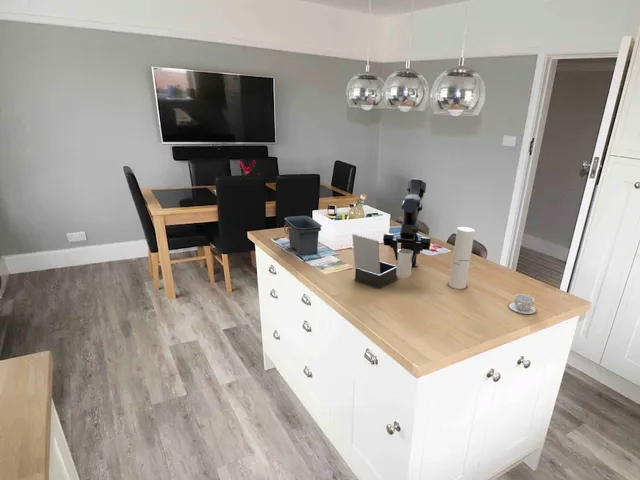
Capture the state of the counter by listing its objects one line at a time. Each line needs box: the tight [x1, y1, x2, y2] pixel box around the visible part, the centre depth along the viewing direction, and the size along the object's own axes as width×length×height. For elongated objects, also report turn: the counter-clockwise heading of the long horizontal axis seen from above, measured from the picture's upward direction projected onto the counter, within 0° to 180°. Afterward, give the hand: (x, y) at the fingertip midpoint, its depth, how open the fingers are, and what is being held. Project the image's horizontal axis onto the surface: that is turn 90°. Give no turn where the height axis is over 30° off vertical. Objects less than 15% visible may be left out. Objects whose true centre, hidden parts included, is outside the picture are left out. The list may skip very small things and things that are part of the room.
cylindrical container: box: [448, 226, 476, 290], centre depth 175 cm, size 7×7×25 cm
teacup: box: [508, 293, 537, 315], centre depth 162 cm, size 10×10×5 cm
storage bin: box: [284, 215, 323, 256], centre depth 206 cm, size 21×16×14 cm
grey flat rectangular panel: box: [352, 233, 381, 275], centre depth 168 cm, size 15×12×1 cm
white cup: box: [395, 248, 413, 279], centre depth 166 cm, size 6×6×10 cm
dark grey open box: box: [354, 260, 399, 289], centre depth 179 cm, size 14×12×6 cm
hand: (404, 260), depth 164 cm, fingers closed on white cup, 6 cm apart
